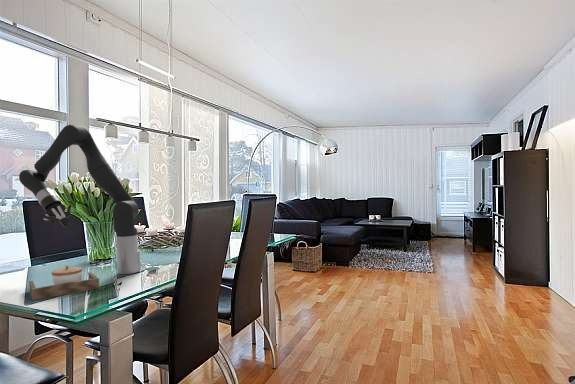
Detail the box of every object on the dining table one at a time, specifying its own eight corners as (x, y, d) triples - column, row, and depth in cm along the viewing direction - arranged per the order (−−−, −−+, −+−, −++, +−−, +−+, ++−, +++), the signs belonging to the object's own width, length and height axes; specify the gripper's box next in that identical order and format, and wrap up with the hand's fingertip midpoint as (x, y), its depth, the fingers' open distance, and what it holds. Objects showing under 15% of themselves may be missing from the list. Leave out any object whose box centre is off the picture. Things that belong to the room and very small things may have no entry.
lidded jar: (56, 286, 163) (55, 264, 163) (85, 284, 166) (84, 261, 166) (48, 294, 153) (47, 269, 152) (79, 291, 156) (78, 267, 155)
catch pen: (91, 281, 171) (91, 271, 171) (99, 288, 159) (98, 278, 159) (29, 291, 158) (28, 281, 157) (32, 300, 145) (32, 289, 145)
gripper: (31, 201, 178) (50, 227, 172) (62, 189, 186) (81, 214, 180) (34, 211, 183) (53, 237, 177) (64, 199, 191) (82, 224, 185)
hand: (67, 225), depth 179 cm, fingers closed
